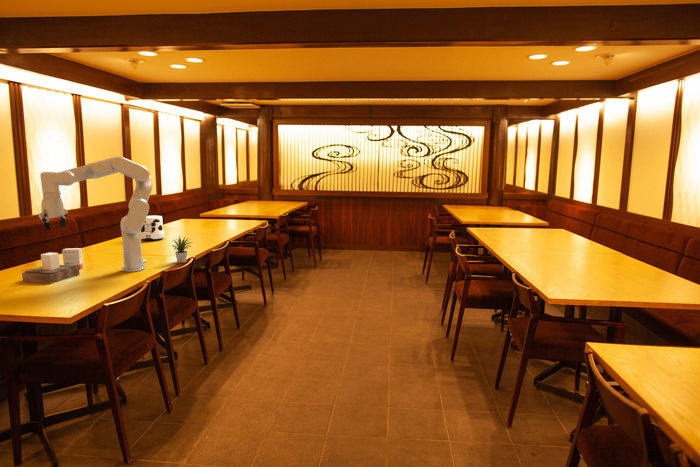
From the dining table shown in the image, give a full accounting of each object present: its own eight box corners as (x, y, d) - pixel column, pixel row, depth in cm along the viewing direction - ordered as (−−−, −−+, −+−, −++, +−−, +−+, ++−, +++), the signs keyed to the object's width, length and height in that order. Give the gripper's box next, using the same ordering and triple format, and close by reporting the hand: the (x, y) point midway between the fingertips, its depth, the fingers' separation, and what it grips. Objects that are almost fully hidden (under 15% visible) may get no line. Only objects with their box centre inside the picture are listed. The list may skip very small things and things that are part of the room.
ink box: (83, 267, 266) (81, 247, 265) (80, 269, 262) (78, 249, 260) (67, 267, 265) (65, 248, 263) (63, 269, 260) (61, 249, 258)
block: (51, 266, 245) (49, 252, 244) (59, 267, 244) (58, 253, 243) (42, 269, 240) (40, 254, 239) (51, 270, 239) (49, 255, 237)
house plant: (185, 265, 274) (183, 238, 272) (164, 264, 277) (163, 237, 274) (197, 260, 288) (196, 234, 285) (177, 259, 291) (176, 233, 288)
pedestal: (51, 272, 253) (51, 263, 253) (79, 274, 250) (78, 265, 249) (22, 281, 236) (21, 271, 235) (52, 283, 232) (51, 273, 232)
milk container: (160, 236, 368) (159, 214, 365) (167, 240, 355) (166, 217, 352) (137, 239, 357) (136, 216, 354) (144, 242, 344) (143, 219, 341)
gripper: (59, 194, 245) (63, 225, 248) (30, 197, 228) (35, 230, 231) (71, 194, 243) (74, 225, 246) (43, 197, 227) (47, 231, 230)
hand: (55, 228), depth 239 cm, fingers open, 9 cm apart
